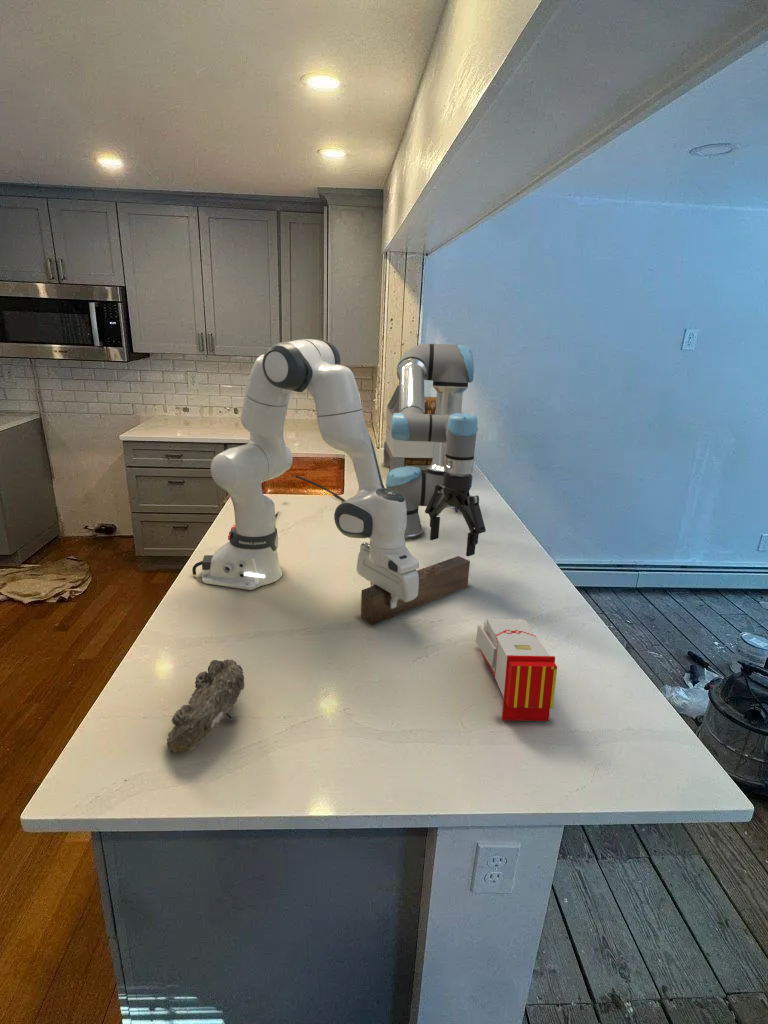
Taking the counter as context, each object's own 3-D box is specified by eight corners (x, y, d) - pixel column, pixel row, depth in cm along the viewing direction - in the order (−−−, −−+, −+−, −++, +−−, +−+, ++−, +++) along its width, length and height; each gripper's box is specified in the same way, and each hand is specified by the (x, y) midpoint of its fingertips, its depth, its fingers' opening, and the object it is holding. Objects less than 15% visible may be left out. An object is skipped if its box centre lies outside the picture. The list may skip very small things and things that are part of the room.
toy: (523, 604, 135) (566, 662, 106) (518, 656, 138) (559, 727, 109) (472, 603, 135) (501, 661, 105) (468, 655, 138) (496, 726, 108)
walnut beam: (360, 617, 145) (361, 590, 142) (456, 580, 167) (458, 555, 165) (371, 625, 142) (372, 596, 139) (467, 586, 164) (470, 561, 161)
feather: (286, 506, 225) (288, 502, 225) (268, 529, 199) (271, 525, 198) (282, 503, 225) (284, 499, 225) (264, 526, 199) (267, 522, 198)
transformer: (382, 463, 289) (386, 382, 275) (445, 464, 293) (451, 384, 279) (390, 482, 257) (394, 392, 243) (460, 483, 261) (468, 394, 247)
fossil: (192, 660, 117) (244, 628, 112) (224, 691, 120) (276, 661, 115) (142, 746, 98) (202, 712, 93) (182, 779, 101) (242, 748, 96)
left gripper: (351, 542, 146) (350, 590, 151) (405, 570, 132) (401, 622, 137) (370, 537, 150) (368, 584, 155) (424, 564, 136) (420, 614, 141)
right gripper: (415, 464, 157) (411, 535, 164) (485, 486, 139) (477, 565, 146) (434, 461, 161) (429, 530, 168) (504, 482, 144) (495, 558, 151)
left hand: (384, 602), depth 146 cm, fingers closed on walnut beam, 4 cm apart
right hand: (451, 546), depth 157 cm, fingers open, 13 cm apart
